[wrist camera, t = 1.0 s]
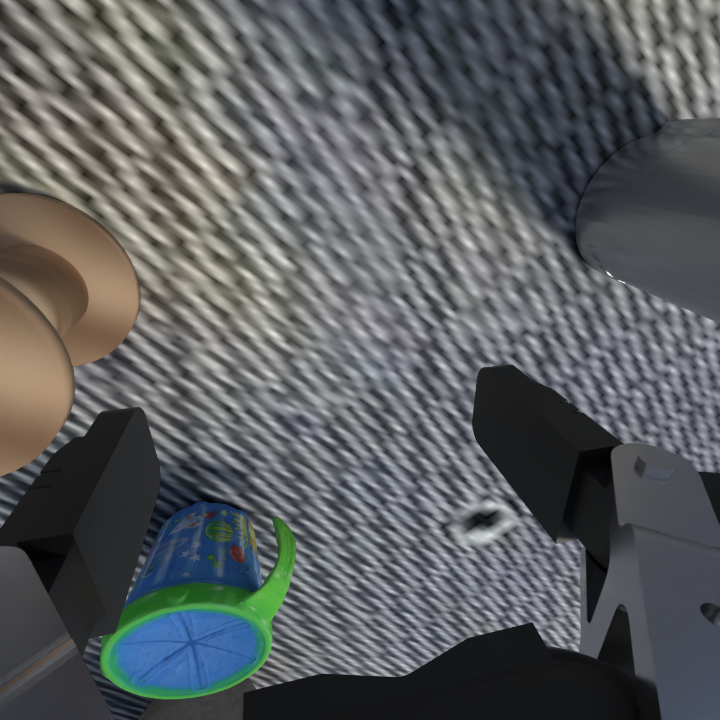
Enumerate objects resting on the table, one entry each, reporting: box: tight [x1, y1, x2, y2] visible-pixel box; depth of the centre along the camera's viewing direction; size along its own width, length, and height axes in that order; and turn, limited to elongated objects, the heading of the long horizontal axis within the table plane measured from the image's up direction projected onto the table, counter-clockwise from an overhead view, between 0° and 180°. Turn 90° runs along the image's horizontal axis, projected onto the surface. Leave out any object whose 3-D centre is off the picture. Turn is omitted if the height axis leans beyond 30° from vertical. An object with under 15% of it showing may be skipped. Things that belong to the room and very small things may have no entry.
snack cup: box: [100, 501, 296, 699], centre depth 31 cm, size 16×10×10 cm
